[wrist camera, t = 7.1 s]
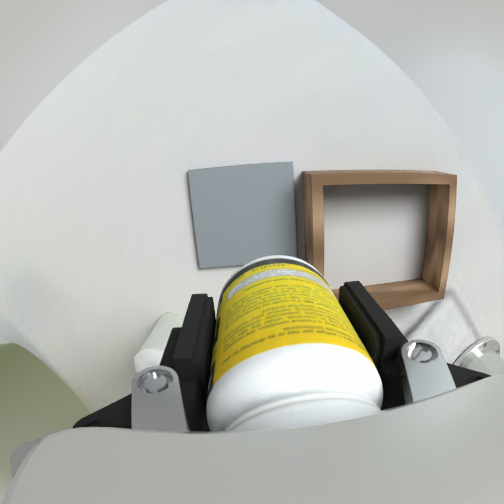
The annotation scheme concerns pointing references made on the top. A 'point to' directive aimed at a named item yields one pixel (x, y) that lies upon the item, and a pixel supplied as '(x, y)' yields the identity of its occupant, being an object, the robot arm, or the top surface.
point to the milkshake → (156, 342)
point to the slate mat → (243, 213)
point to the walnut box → (437, 231)
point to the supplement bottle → (285, 352)
